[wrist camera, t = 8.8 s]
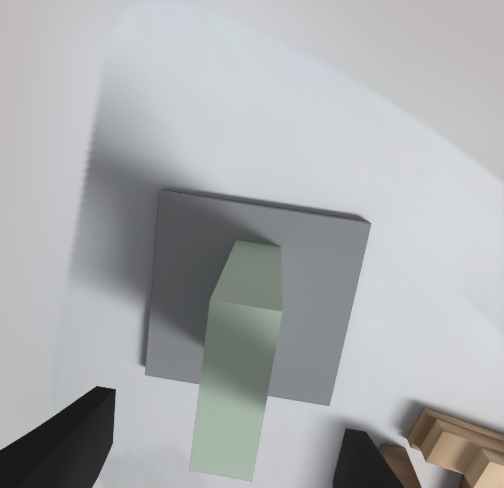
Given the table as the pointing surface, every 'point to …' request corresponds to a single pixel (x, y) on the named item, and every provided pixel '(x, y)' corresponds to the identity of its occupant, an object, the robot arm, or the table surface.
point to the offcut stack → (460, 448)
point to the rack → (405, 466)
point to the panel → (238, 361)
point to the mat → (293, 287)
